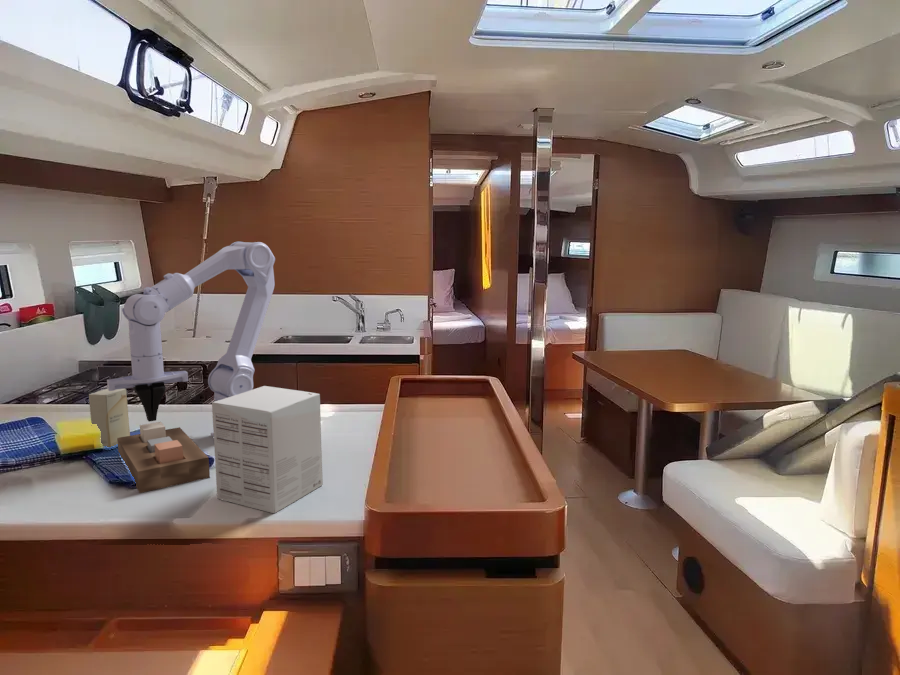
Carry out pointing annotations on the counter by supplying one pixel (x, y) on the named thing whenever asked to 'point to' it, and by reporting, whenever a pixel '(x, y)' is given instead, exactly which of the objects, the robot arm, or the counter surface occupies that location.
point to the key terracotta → (168, 452)
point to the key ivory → (152, 431)
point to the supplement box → (267, 447)
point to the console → (167, 473)
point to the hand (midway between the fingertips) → (151, 419)
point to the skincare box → (110, 414)
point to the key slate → (155, 441)
